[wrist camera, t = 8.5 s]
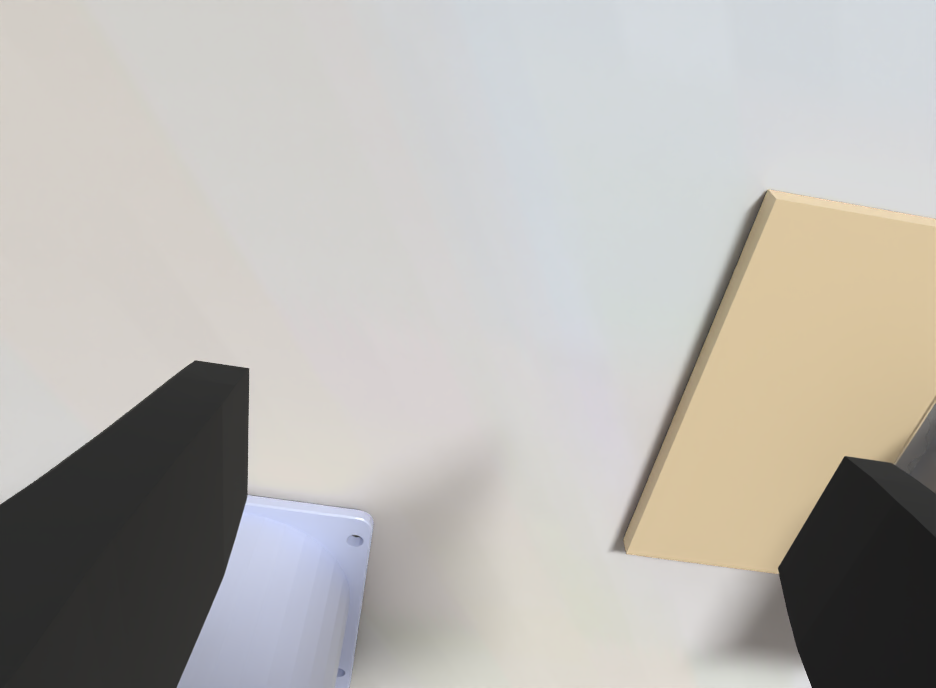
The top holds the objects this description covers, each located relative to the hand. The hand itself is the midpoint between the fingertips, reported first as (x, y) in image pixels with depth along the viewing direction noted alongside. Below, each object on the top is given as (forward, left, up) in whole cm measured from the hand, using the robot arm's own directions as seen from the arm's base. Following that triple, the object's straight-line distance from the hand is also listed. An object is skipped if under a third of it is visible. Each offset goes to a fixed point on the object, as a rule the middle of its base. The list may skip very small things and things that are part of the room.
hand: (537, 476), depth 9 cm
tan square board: (-5, -13, -10) cm, 17 cm away
